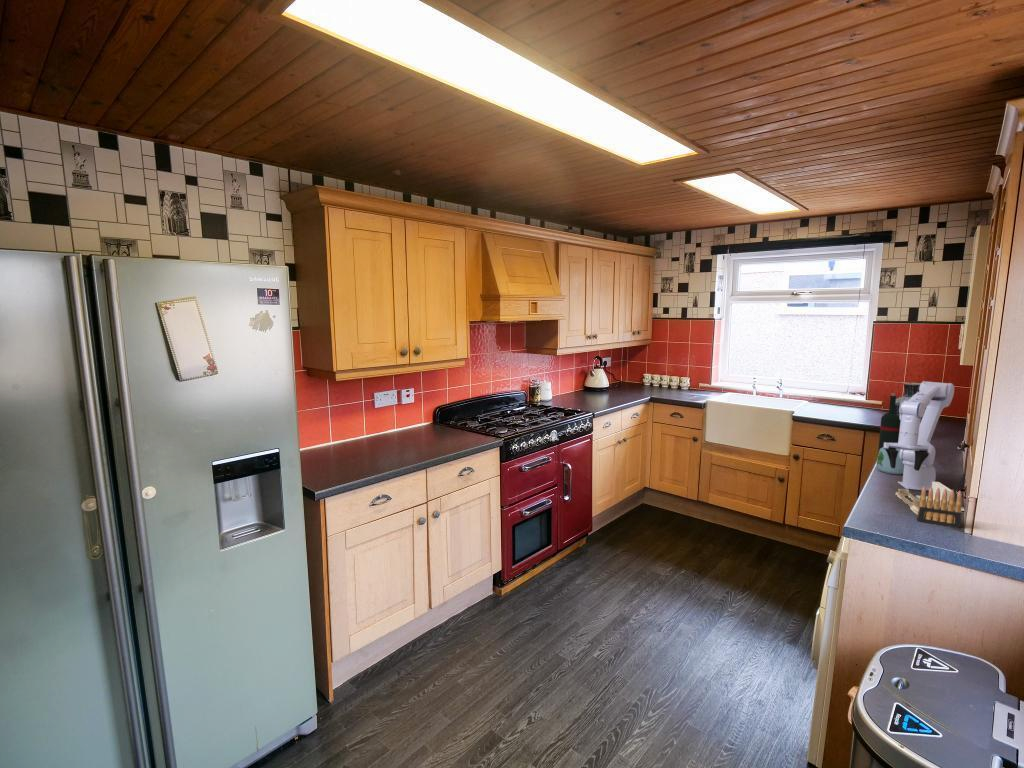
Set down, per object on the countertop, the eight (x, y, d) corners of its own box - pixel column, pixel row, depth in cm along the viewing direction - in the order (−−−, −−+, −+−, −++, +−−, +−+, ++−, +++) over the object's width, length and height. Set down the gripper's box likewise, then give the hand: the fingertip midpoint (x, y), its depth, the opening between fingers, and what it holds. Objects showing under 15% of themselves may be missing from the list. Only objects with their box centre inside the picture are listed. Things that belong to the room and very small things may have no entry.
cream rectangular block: (937, 498, 186) (938, 482, 185) (951, 508, 176) (953, 491, 176) (930, 497, 186) (932, 481, 186) (944, 507, 177) (946, 490, 176)
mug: (866, 464, 229) (868, 443, 227) (894, 465, 227) (896, 444, 225) (884, 475, 214) (886, 452, 213) (913, 476, 212) (916, 453, 211)
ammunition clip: (959, 526, 163) (963, 490, 161) (960, 528, 161) (964, 491, 160) (916, 519, 169) (920, 484, 167) (917, 521, 167) (921, 486, 165)
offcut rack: (912, 496, 190) (912, 488, 189) (939, 517, 170) (940, 508, 170) (893, 494, 191) (893, 487, 191) (917, 515, 172) (918, 506, 172)
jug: (897, 442, 267) (903, 385, 263) (880, 433, 286) (884, 380, 282) (943, 443, 263) (949, 385, 259) (922, 435, 281) (928, 380, 277)
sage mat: (948, 499, 186) (948, 497, 186) (968, 512, 174) (968, 511, 173) (915, 496, 189) (916, 495, 189) (932, 509, 177) (933, 508, 176)
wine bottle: (903, 459, 236) (909, 395, 231) (876, 455, 242) (881, 393, 238) (905, 456, 241) (911, 393, 237) (879, 452, 248) (884, 391, 244)
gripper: (891, 433, 188) (886, 469, 190) (937, 436, 185) (932, 473, 186) (882, 429, 195) (878, 464, 197) (927, 433, 191) (923, 469, 193)
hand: (904, 468), depth 192 cm, fingers open, 7 cm apart
